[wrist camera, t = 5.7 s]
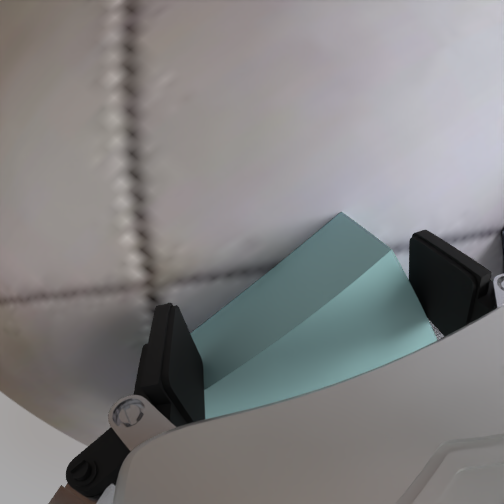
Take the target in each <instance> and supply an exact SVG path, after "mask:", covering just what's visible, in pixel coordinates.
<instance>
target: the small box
mask: <svg viewBox="0 0 504 504" xmlns="http://www.w3.org/2000/svg"><path fill="white" fill-rule="evenodd" d="M502 241H503V251H504V230H503V231H502Z"/></svg>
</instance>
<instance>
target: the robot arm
mask: <svg viewBox="0 0 504 504" xmlns="http://www.w3.org/2000/svg"><path fill="white" fill-rule="evenodd" d="M490 278H491V272H490V271H489V270H487V269H486V268H485V267H483V266H482V265H480V264H479V263H477V262H476V261H474V260H473V259H471V258H470V257H468V256H467V255H465V254H464V253H462V252H461V251H459V250H458V249H456V248H455V247H453V246H452V245H450V244H448V243H447V242H445V241H444V240H442V239H440V238H439V237H437V236H436V235H434V234H432V233H431V232H429V231H427V230H422V231H419V232H416V233H414V234H413V235H412V238H411V239H410V246H409V282H410V284H411V286H412V288H413V290H414V292H415V294H416V296H417V298H418V300H419V302H420V304H421V306H422V308H423V310H424V312H425V314H426V316H427V318H428V319H429V320H430V321H431V322H432V323H433V324H434V325H435V326H436V327H437V328H438V330H439V331H440V332H441V333H442V334H443V335H444V336H445V337H443V338H441V339H439V340H437V341H435V342H433V343H431V344H429V345H427V346H424V347H422V348H420V349H418V350H416V351H414V352H412V353H409V354H407V355H405V356H403V357H400V358H398V359H396V360H393V361H391V362H389V363H386V364H384V365H382V366H379V367H377V368H374V369H372V370H369V371H367V372H364V373H361V374H359V375H356V376H354V377H351V378H348V379H345V380H343V381H340V382H337V383H334V384H331V385H328V386H325V387H323V388H320V389H316V390H313V391H310V392H307V393H304V394H301V395H297V396H294V397H291V398H287V399H284V400H280V401H277V402H273V403H269V404H266V405H262V406H258V407H254V408H250V409H246V410H242V411H238V412H234V413H230V414H226V415H222V416H217V417H213V418H209V419H205V400H204V375H203V362H202V358H201V356H200V354H199V352H198V350H197V347H196V345H195V343H194V341H193V339H192V336H191V334H190V332H189V330H188V328H187V325H186V323H185V321H184V319H183V316H182V314H181V312H180V309H179V307H178V306H177V305H176V306H173V305H172V303H168V304H164V305H160V306H156V308H155V313H154V318H153V322H152V327H151V332H150V337H149V342H148V344H145V345H144V346H143V349H142V354H141V358H140V363H139V368H138V374H137V379H136V384H135V390H134V395H129V396H126V397H123V398H121V399H120V400H118V401H117V402H116V403H115V404H114V405H113V406H112V408H111V409H110V411H109V415H108V421H109V424H110V426H111V428H110V429H108V430H107V431H106V432H105V433H104V434H103V435H101V436H100V437H99V438H98V439H97V440H96V441H94V442H93V443H92V444H91V445H90V446H88V447H87V448H86V449H85V450H84V451H82V452H81V453H80V454H79V455H78V456H77V457H75V458H74V459H73V460H72V461H71V462H70V463H69V465H68V467H67V470H66V480H67V482H68V483H67V485H66V486H65V487H63V486H62V485H61V486H60V488H59V489H58V491H57V492H56V493H55V495H54V497H53V498H52V499H51V501H50V502H49V504H504V274H500V275H497V276H496V277H495V278H494V280H493V281H491V280H490Z"/></svg>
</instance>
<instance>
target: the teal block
mask: <svg viewBox="0 0 504 504" xmlns="http://www.w3.org/2000/svg"><path fill="white" fill-rule="evenodd" d="M190 334H191V336H192V339H193V341H194V343H195V345H196V347H197V350H198V352H199V354H200V356H201V358H202V362H203V375H204V400H205V419H209V418H213V417H217V416H222V415H226V414H230V413H234V412H238V411H242V410H246V409H250V408H254V407H258V406H262V405H266V404H269V403H273V402H277V401H280V400H284V399H287V398H291V397H294V396H297V395H301V394H304V393H307V392H310V391H313V390H316V389H320V388H323V387H325V386H328V385H331V384H334V383H337V382H340V381H343V380H345V379H348V378H351V377H354V376H356V375H359V374H361V373H364V372H367V371H369V370H372V369H374V368H377V367H379V366H382V365H384V364H386V363H389V362H391V361H393V360H396V359H398V358H400V357H403V356H405V355H407V354H409V353H412V352H414V351H416V350H418V349H420V348H422V347H424V346H427V345H429V344H431V343H433V342H435V341H437V338H436V336H435V334H434V331H433V329H432V327H431V325H430V323H429V320H428V318H427V316H426V314H425V312H424V310H423V308H422V306H421V304H420V302H419V300H418V298H417V296H416V294H415V292H414V290H413V288H412V286H411V284H410V282H409V280H408V278H407V276H406V274H405V273H404V271H403V269H402V267H401V265H400V263H399V262H398V260H397V258H396V256H395V254H394V253H393V251H392V249H390V248H389V247H388V246H387V245H385V244H384V243H383V242H381V241H380V240H379V239H378V238H376V237H375V236H374V235H372V234H371V233H370V232H368V231H367V230H366V229H364V228H363V227H362V226H360V225H359V224H358V223H356V222H355V221H353V220H352V219H351V218H349V217H348V216H347V215H345V214H344V213H342V212H340V213H339V214H338V215H337V216H336V217H334V218H333V219H332V220H331V221H330V222H328V223H327V224H326V225H325V226H324V227H322V228H321V229H320V230H319V231H318V232H316V233H315V234H314V235H313V236H312V237H310V238H309V239H308V240H307V241H306V242H304V243H303V244H302V245H301V246H299V247H298V248H297V249H296V250H295V251H293V252H292V253H291V254H290V255H288V256H287V257H286V258H285V259H284V260H282V261H281V262H280V263H279V264H277V265H276V266H275V267H274V268H272V269H271V270H270V271H269V272H267V273H266V274H265V275H264V276H263V277H261V278H260V279H259V280H258V281H256V282H255V283H254V284H253V285H251V286H250V287H249V288H248V289H246V290H245V291H244V292H243V293H241V294H240V295H239V296H237V297H236V298H235V299H234V300H232V301H231V302H230V303H229V304H227V305H226V306H225V307H224V308H222V309H221V310H220V311H219V312H217V313H216V314H215V315H213V316H212V317H211V318H210V319H208V320H207V321H206V322H204V323H203V324H202V325H201V326H199V327H198V328H197V329H195V330H194V331H193V332H192V333H190Z"/></svg>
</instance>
